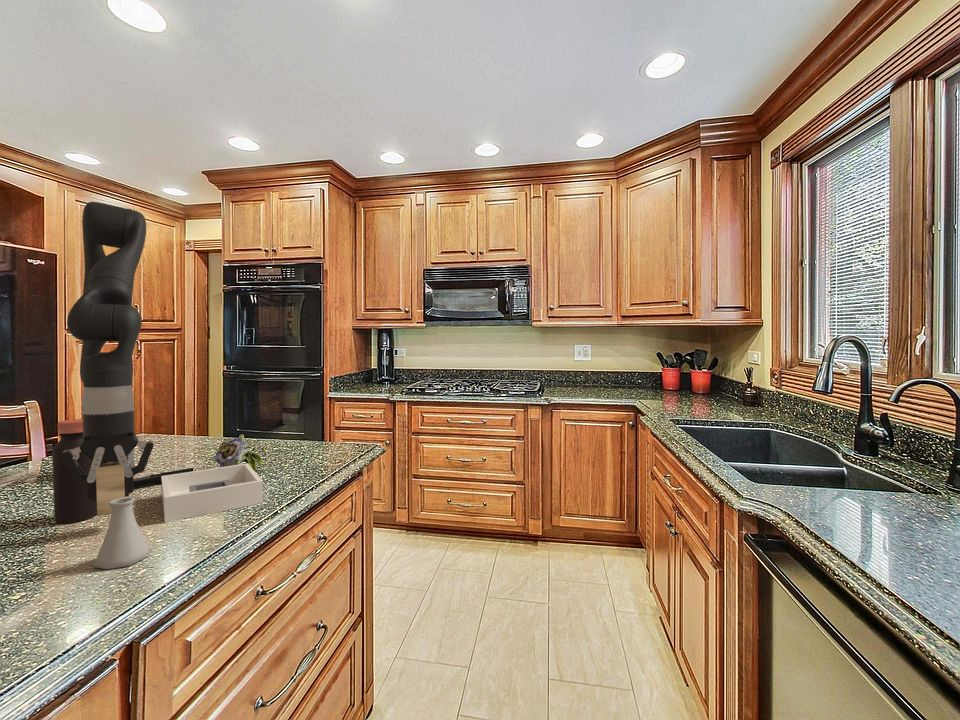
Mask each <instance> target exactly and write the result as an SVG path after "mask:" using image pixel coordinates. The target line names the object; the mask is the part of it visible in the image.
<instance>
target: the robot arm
mask: <svg viewBox="0 0 960 720" xmlns="http://www.w3.org/2000/svg"><path fill="white" fill-rule="evenodd" d="M81 216H82V219H81V222H82V223H81V225H82V227H81V228H82V241H83V242H82V243H83V257H84V258H83V259H84V272H83V273H84V275H83V290H82V295H81V296H80V297H79V298H78V299H77V301H76V302H75V303H74V304H73V306H72V307H71V309H70V311H69V312H68V315H67V319H66V327H67V330H68V332H69V333H70V334H71V336H73V337H74V338H75V339H76V340H78V341H82V346H81V352H80V353H81V355H80V363H79V377H80V380H81V383H82V385H83V388H82V395H81V396H82V397H81V407H80V408H81V413H82V414H81V415H82V418H81V419H83V441H82V443H81V444H80V446H79V447H76V448H73V449H67V450H65V451H64V452H63V453H62V455H61V457H62V459H63V461H64V462H65V464H66V466H67V468H68V470H69V472H70V474H71V475H72V477H73V479H74V481H76V482H79V481H84V482H86V483H87V484H88V498H89V499H90V500H91V499H93V502H97V488H96V468H99V467H100V464H105V463H108V462H119V463H120V465H124V474H125V477H124V485H125V497H130V494H132V493H133V492H134V490H135V489H134V486H133V479H134V476H136V475H137V474H139V473H140V474H141V473H143V472H144V471H145V469H146V466H147V464H148V462H149V459H150V456H151V454H152V451H153V449H154V441H153V440H147V441H146V440H141V439H139V437H137V436H136V434H135V397H134V391H133V382H134V381H133V380H134V379H133V378H134V376H133V375H134V362H133V356H134V355H133V354H134V349H135V347H136V343H137V340H138V337H139V335H140V331H141V328H142V325H143V324H142V323H143V321H142V315H141V313H140V312H139V311H138V309H137V308H135V307H134V306H132V302H133V292H134V282H135V277H136V276H135V275H136V271H137V268H138V265H139V263H140V260H141V258H142V254H143V252H144V251H143V250H144V246H145V244H146V237H147V221H146V218H145V215H143V214H142V212H139V211H137V210H135V209H132V208H126V207H121V206H118V205H114V204H113V205H112V204H109V203H108V204H107V203H104V202H97V201H89V202H87V203H86V204H85V206H84V208H83V211H82V215H81ZM104 246H105V247H111V248H115V249H116V250H115V251H113V252H111V253H109V254H107V255H106V253H105V250H104ZM107 342H117V343H118V344H117V346H116V347H115V348H114V349H113V350H112V351H111V350H110V351H101V350H102V349H103V347H104V346H105V344H107ZM136 447H138V451H139V452H140V453H141V455H140V458H139V460H138V463H137V465H135V448H136ZM81 451H82V452H83V453H84V454H85V455H86V456H88V457H89V458H90V459H91V460H92V461H93V462H92V465H91V468H90V472H89V473H83V471H82V469H81V467H80V465H79V464H78V462H77V459H78V458H79V453H80V452H81Z"/></svg>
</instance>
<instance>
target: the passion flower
mask: <svg viewBox="0 0 960 720" xmlns="http://www.w3.org/2000/svg"><path fill="white" fill-rule="evenodd" d="M244 439H245V435H244V434H243V433H242V434H240V435H239V436H238V437H237V438H236V437H235V438H233V439H230V440H227V441H222V443H220V445H219V446H218V449H217V450H216V452H215V456H213V457H212V458H211V459H210V460H211V462H216V463H217V464H218V465H219V467H226V466H233V465H238V462H245V464H246V463H248V464H249V465H250V466H251V467H252V469H253V470H254V471H255V472H256V473H257V463H258V465H259V468H262V465H263V459H262V458H261V457H260V456H259V455H258V454H257V453H255V452H258V451H260V450H262V451H263V453H264V455H267V453H268V452H267V451H266V449H265V446H264V447H262V448H259V449H256V450H254V451H250V449H249V447H250V446H252V445H253V443H254V442H253V440H249V441H245V442H244Z"/></svg>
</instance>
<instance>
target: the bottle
mask: <svg viewBox="0 0 960 720" xmlns="http://www.w3.org/2000/svg"><path fill="white" fill-rule="evenodd" d="M57 433H58V436H59V438H60V440H58V442H57V443H56V444H54V446H53V447H52V448H51V458H52V461H51V463H52V484H53V490H52V491H53V508H54V509H53V511H54V513H53V514H54V522H56V523H58V524H74V523H80V522H82V521H86V520H89V519H91V518H94V517H96V516H97V502H93V499H91V500H90V499H89V498H88V484H87V483H86V482H84V481H79V482H76V481H74V479H73V477H72V475H71V474H70V472H69V470H68V468H67V466H66V464H65V462H64V461H63V459H62V457H61V455H62V453H63V452H64V451H65V450H67V449H73V448H76V447H79V446H80V444H81V443H82V441H83V419H82V418H75V419H65V420H61V421H58V422H57ZM77 462H78V464H79V465H80V467H81V469H82V471H83V473H89V472H90V468H91V465H92V462H93V461H92V460H91V459H90V458H89V457H88V456H86V455H85V454H84V453H83V452H82V451H81V452H80V453H79V458H78V459H77Z"/></svg>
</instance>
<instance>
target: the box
mask: <svg viewBox="0 0 960 720" xmlns="http://www.w3.org/2000/svg"><path fill="white" fill-rule="evenodd" d="M161 482H162V484H161V499H162V500H161V501H162V511H163V518H164V519H163V520H164V523H165V522H166V523H170V522H169V521H171V522H175V521H174V520H176V521H180V520H179V519H181V520H185V519H184V518H186V519H189V518H190V517H191V518H195V517H200V515H201V516H206V515H210V514H214V513H219V512H221V513H222V512H224V511H230V510H236V509H239V508H245V507H250V506H255V505H260V504H263V503H264V480H263V479H262V477H260V476H259V474H258V473H257V471H256V472H255V471H254V470H253V469H252V467H251V466H250V465H249V464H248V463H246V462H245V463H239V464H237V465H233V466H226V467H220V466H218V467H213V468H206V469H201V470H193V471H192V472H186V473H179V474H172V475H165V476H161ZM205 514H206V515H205ZM191 518H190V519H191Z"/></svg>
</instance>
